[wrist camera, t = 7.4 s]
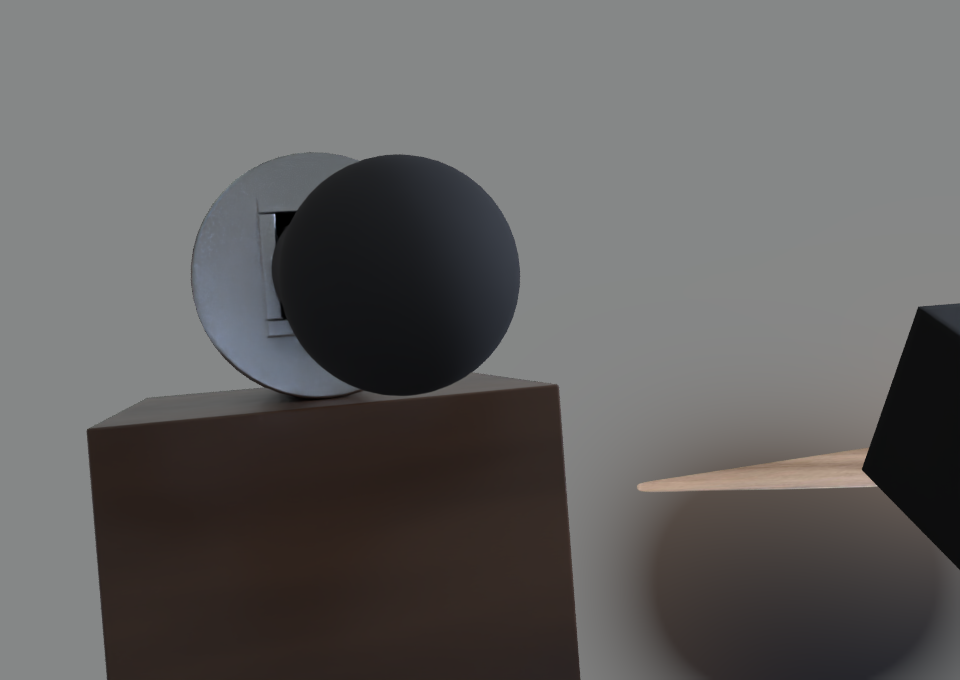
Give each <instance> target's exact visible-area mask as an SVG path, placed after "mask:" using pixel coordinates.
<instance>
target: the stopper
mask: <svg viewBox="0 0 960 680" xmlns="http://www.w3.org/2000/svg"><path fill="white" fill-rule="evenodd" d="M277 237H278V242H277V244H276V246H275V249H274V253H273V257H272V279H273V284H274V288H275V291H276V293H277V295H278V298H279V299H280V301H281V303H282V305H283V309H284V312H285V315H286V318H287V320H288V322H289V325H290V327H291V329H292V331H293V333H294V335H295V336H296V338H297V339H298V341H299V343H300V344H301V346H302V347H303V348H304V349H305V351H306V352H307V353H308V354H309V356H310V357H311V358H312V359H313V360H314V361H315V362H316V363H318V364H319V365H320V366H321V367H322V368H323V369H324V370H326V371H327V372H329V373H330V374H331V375H333V376H334V377H336V378H337V379H339V380H341V381H343V382H345V383H347V384H348V385H350V386H353V387H356V388H358V389H361V390H364V391H367V392H372V393H376V394H381V395H389V396H412V395H418V394H424V393H429V392H433V391H436V390H439V389H442V388H444V387H447V386H450V385H452V384H453V383H455V382H457V381H459V380H461V379H463V378H464V377H466V376H467V375H469V374H470V373H471V372H473V371H474V370H475V369H477V368H478V367H479V366H480V365H481V364H482V363H483V362H484V361H485V360H486V359H487V358H488V357H489V356H490V355H491V354H492V353H493V351H494V350H495V349H496V348H497V346H498V345H499V343H500V342H501V340H502V338H503V337H504V335H505V334H506V332H507V329H508V327H509V325H510V323H511V320H512V318H513V315H514V312H515V308H516V305H517V300H518V293H519V287H520V267H519V259H518V253H517V248H516V244H515V240H514V237H513V235H512V232H511V230H510V227H509V225H508V223H507V221H506V219H505V218H504V216H503V214H502V212H501V211H500V209H499V208H498V206H497V205H496V203H495V202H494V201H493V199H492V198H491V197H490V196H489V195H488V194H487V193H486V192H485V191H484V190H483V189H482V188H481V186H479V185H478V184H477V183H475V182H474V181H473V180H472V179H471V178H469V177H468V176H466V175H465V174H463V173H461V172H459V171H458V170H456V169H455V168H453V167H450V166H448V165H446V164H443V163H441V162H439V161H435V160H431V159H428V158H424V157H419V156H411V155H384V156H378V157H374V158H369V159H364V160H362V161H359V162H356V163H354V164H351V165H348V166H346V167H345V168H343V169H341V170H339V171H337V172H335V173H334V174H332V175H331V176H330V177H328V178H327V179H325V180H324V181H323V182H321V183H320V184H319V185H318V186H317V187H316V188H315V189H314V190H313V191H312V192H311V193H310V194H309V195H308V196H307V198H306V199H305V200H304V202H303V203H302V204H301V205H300V207H299V208H298V210H297V212H296V213H295V215H294V217H293V219H292V220H291V222H290V224H289V225H287V226H285V227H283V228H281V229H279V230H278V231H277Z"/></svg>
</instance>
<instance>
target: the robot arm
mask: <svg viewBox="0 0 960 680" xmlns="http://www.w3.org/2000/svg"><path fill="white" fill-rule="evenodd" d="M862 471H863V472H864V473H865V474H866V475H867V476H868V477H869V478H870V479H871V480H872V481H873V482H874V483H875V484H876V485H877V486H878V487H879V488H880V489H881V490H882V491H883V492H884V493H885V494H886V495H887V496H888V497H889V498H890V499H891V500H892V501H893V502H894V503H895V504H896V505H897V506H898V507H899V508H900V509H901V510H902V511H903V512H904V513H905V514H906V515H907V516H908V517H909V518H910V519H911V521H913V522H914V524H916V526H917V527H918V528H919V529H920V530H921V531H922V532H923V533H924V534H925V535H926V536H927V537H928V538H929V539H930V540H931V541H932V542H933V543H934V544H935V545H936V546H937V547H938V548H939V549H940V550H941V551H942V552H943V553H944V554H945V555H946V556H947V557H948V558H949V559H950V560H951V561H952V562H953V563H954V564H955V565H956V566H957V567H958V568H959V569H960V304H948V305H935V306H923V307H918V309H917V312H916V315H915V318H914V321H913V324H912V327H911V330H910V332H909V335H908V339H907V341H906V344H905V347H904V350H903V353H902V355H901V358H900V361H899V364H898V367H897V370H896V373H895V376H894V378H893V381H892V384H891V387H890V390H889V393H888V396H887V399H886V401H885V404H884V407H883V410H882V413H881V416H880V419H879V422H878V424H877V428H876V430H875V433H874V436H873V439H872V442H871V444H870V447H869V450H868V453H867V456H866V459H865V462H864V465H863V467H862Z"/></svg>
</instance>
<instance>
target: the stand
mask: <svg viewBox="0 0 960 680" xmlns="http://www.w3.org/2000/svg"><path fill="white" fill-rule="evenodd" d="M87 441H88V454H89V466H90V478H91V490H92V502H93V513H94V526H95V539H96V551H97V563H98V575H99V586H100V598H101V610H102V623H103V635H104V648H105V660H106V672H107V680H580V669H579V655H578V641H577V628H576V614H575V601H574V587H573V573H572V559H571V546H570V532H569V518H568V506H567V493H566V477H565V464H564V450H563V437H562V423H561V409H560V396H559V386H558V385H557V384H551V383H543V382H536V381H529V380H521V379H514V378H508V377H501V376H493V375H486V374H479V373H472V372H471V373H470V374H469V375H467V376H466V377H464V378H463V379H461V380H459V381H457V382H455V383H453V384H452V385H450V386H447V387H444V388H442V389H439V390H436V391H433V392H429V393H424V394H418V395H412V396H389V395H381V394H376V393H372V392H367V391H362V392H358V393H355V394H352V395H348V396H344V397H337V398H331V399H307V398H297V397H293V396H289V395H285V394H281V393H278V392H275V391H273V390H270V389H267V388H254V389H243V390H231V391H220V392H209V393H197V394H186V395H175V396H164V397H152V398H146V399H144V400H142V401H140V402H138V403H137V404H135V405H133V406H131V407H129V408H127V409H125V410H123V411H121V412H119V413H118V414H116V415H114V416H112V417H110V418H108V419H106V420H104V421H102V422H100V423H99V424H97V425H95V426H93V427H91V428H89V429H87Z"/></svg>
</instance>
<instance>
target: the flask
mask: <svg viewBox="0 0 960 680" xmlns="http://www.w3.org/2000/svg"><path fill="white" fill-rule="evenodd" d="M356 162H359V161H358V160H355V159H352V158H349V157H346V156H341V155H336V154H330V153H311V152H309V153H298V154H291V155H287V156H283V157H278V158H275V159H273V160H270V161H267V162H265V163H262V164H260V165H258V166H257V167H254V168H253V169H251V170H249V171H247V172H246V173H244V174H243V175H242V176H240V177H239V178H237V179H236V180H235V181H234V182H233V183H231V185H229V186H228V187H227V188H226V189H225V190H224V191H223V192H222V193H221V195H220V196H219V197H218V198H217V199H216V201H215V202H214V203H213V204H212V206H211V208H210V209H209V211H208V213H207V214H206V216H205V218H204V220H203V222H202V224H201V227H200V229H199V232H198V234H197V237H196V241H195V245H194V249H193V254H192V262H191V286H192V292H193V299H194V303H195V306H196V310H197V313H198V316H199V319H200V321H201V323H202V325H203V327H204V329H205V332H206V333H207V335H208V337H209V338H210V340H211V341H212V343H213V345H214V346H215V347H216V349H217V350H218V351H219V352H220V353H221V355H222V356H223V357H224V358H225V359H226V360H227V361H228V362H229V363H230V364H231V365H232V366H233V367H234V368H235V369H236V370H238V371H239V372H240V373H242V374H243V375H244V376H246V377H247V378H249V379H250V380H252V381H254V382H256V383H257V384H259V385H261V386H263V387H265V388H267V389H270V390H273V391H275V392H278V393H281V394H285V395H289V396H293V397H297V398H307V399H331V398H337V397H344V396H348V395H352V394H355V393H358V392H362V391H364V390H361V389H358V388H356V387H353V386H350V385H348V384H347V383H345V382H343V381H341V380H339V379H337V378H336V377H334V376H333V375H331V374H330V373H329V372H327V371H326V370H324V369H323V368H322V367H321V366H320V365H319V364H318V363H316V362H315V361H314V360H313V359H312V358H311V357H310V356H309V354H308V353H307V352H306V351H305V349H304V348H303V347H302V346H301V344H300V343H299V341H298V339H297V338H296V336H295V335H294V333H293V331H292V329H291V327H290V325H289V322H288V320H287V318H286V315H285V312H284V309H283V305H282V303H281V301H280V299H279V298H278V295H277V293H276V291H275V288H274V284H273V279H272V257H273V253H274V249H275V246H276V244H277V242H278V237H277V231H278V230H279V229H281V228H283V227H285V226H287V225H289V224H290V222H291V220H292V219H293V217H294V215H295V213H296V212H297V210H298V208H299V207H300V205H301V204H302V203H303V202H304V200H305V199H306V198H307V196H308V195H309V194H310V193H311V192H312V191H313V190H314V189H315V188H316V187H317V186H318V185H319V184H320V183H321V182H323V181H324V180H325V179H327V178H328V177H330V176H331V175H332V174H334V173H335V172H337V171H339V170H341V169H343V168H345V167H346V166H348V165H351V164H354V163H356Z"/></svg>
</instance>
